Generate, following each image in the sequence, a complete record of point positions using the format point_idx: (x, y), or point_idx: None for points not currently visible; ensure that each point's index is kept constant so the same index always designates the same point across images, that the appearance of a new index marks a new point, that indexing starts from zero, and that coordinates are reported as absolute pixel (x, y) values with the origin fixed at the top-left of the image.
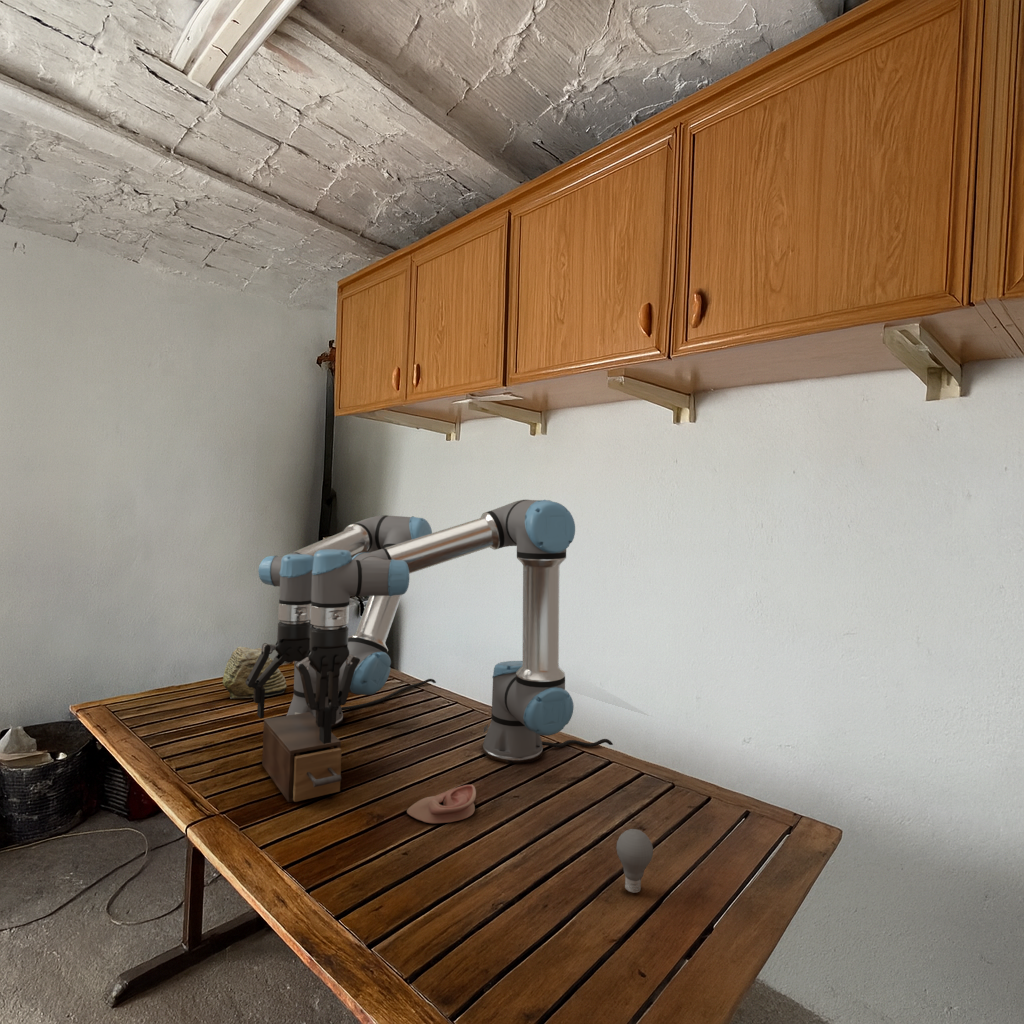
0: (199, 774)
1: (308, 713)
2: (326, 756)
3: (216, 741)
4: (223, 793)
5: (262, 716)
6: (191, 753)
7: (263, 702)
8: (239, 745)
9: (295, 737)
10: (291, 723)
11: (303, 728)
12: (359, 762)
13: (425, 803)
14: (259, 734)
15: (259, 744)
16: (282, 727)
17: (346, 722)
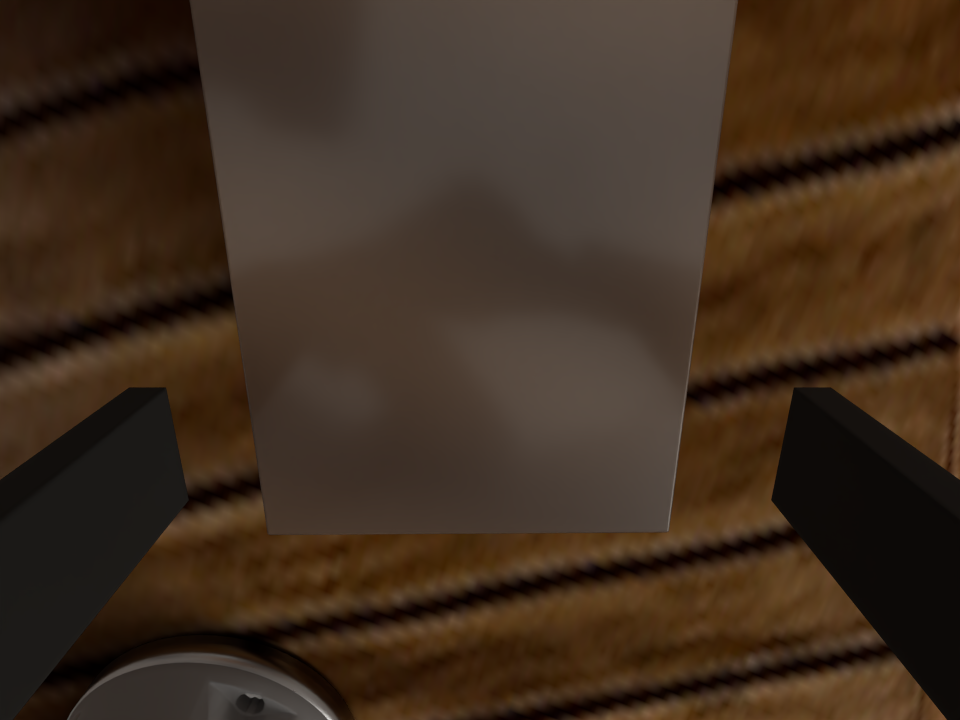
0: (876, 416)
1: (285, 505)
2: None
3: (678, 713)
4: (880, 129)
5: (819, 393)
6: (812, 642)
7: (923, 482)
8: (608, 639)
9: None
10: (494, 330)
11: (428, 132)
12: (82, 154)
13: None
14: (492, 712)
15: (525, 614)
16: (604, 264)
17: (67, 686)
